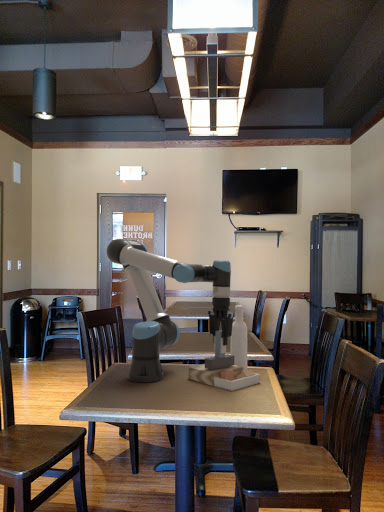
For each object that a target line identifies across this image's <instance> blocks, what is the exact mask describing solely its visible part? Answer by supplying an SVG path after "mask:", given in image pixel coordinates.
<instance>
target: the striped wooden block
mask: <svg viewBox="0 0 384 512" xmlns="http://www.w3.org/2000/svg"><path fill="white" fill-rule="evenodd" d="M226 370H233V371H234V380H235V379H237V378H236V377H237V376H238V375H239V374H241V373H242V371H243V367H242V366H237V365H232V366H228V367H223V368H218V369H214V370H210V369H206V368H205V363H202V364H201V363H200V364H198V365H192V366H188V380H191V381H194V382H198V383H202V384H205V385H209V386H213V387H215V386H214V377H218V378H221V371H226Z"/></svg>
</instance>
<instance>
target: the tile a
mask: <svg viewBox="0 0 384 512" xmlns="http://www.w3.org/2000/svg"><path fill="white" fill-rule="evenodd" d="M221 379H225V380H229V381H233V380H234V371H233V370H226V371H221Z"/></svg>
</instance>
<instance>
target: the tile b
mask: <svg viewBox="0 0 384 512" xmlns="http://www.w3.org/2000/svg"><path fill="white" fill-rule="evenodd" d="M254 373H255V372H253V370H252V368H250V369H247V370H246V371H243V372H242V373H241V374H239V375H238V376H237V377H236V378H237V379H241V378H244V377H248V376H252V375H254Z"/></svg>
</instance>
